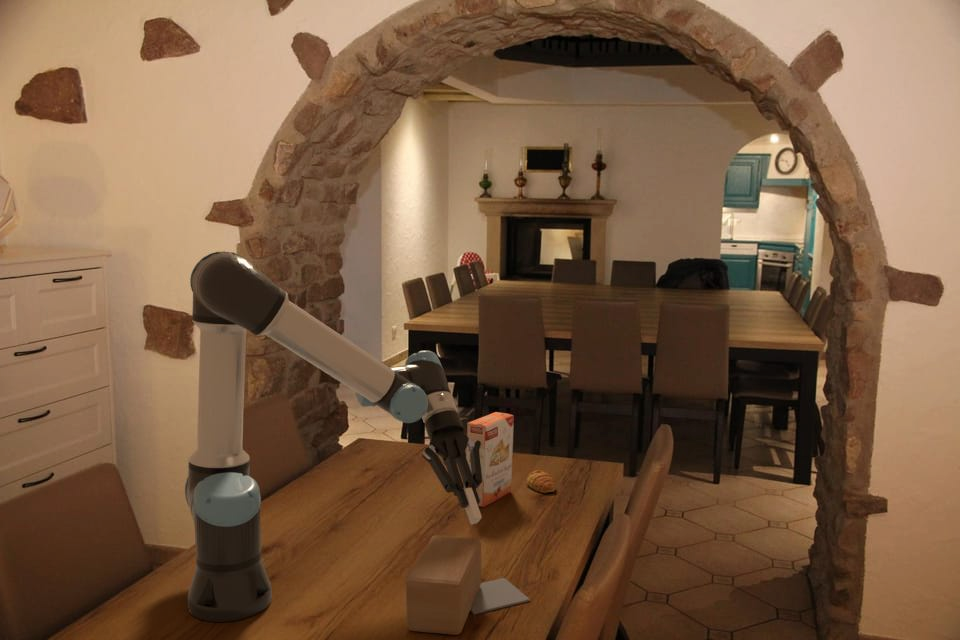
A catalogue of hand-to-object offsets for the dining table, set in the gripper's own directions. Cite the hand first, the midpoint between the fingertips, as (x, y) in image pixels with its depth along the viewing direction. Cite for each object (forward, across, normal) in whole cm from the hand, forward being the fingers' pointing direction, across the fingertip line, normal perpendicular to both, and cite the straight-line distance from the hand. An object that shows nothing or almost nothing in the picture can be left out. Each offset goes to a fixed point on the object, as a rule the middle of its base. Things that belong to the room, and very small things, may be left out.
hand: (476, 520), depth 167 cm
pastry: (-20, +42, +39) cm, 61 cm away
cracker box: (-20, +25, +38) cm, 50 cm away
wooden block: (+5, -3, +6) cm, 8 cm away
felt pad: (+14, 0, +5) cm, 14 cm away
